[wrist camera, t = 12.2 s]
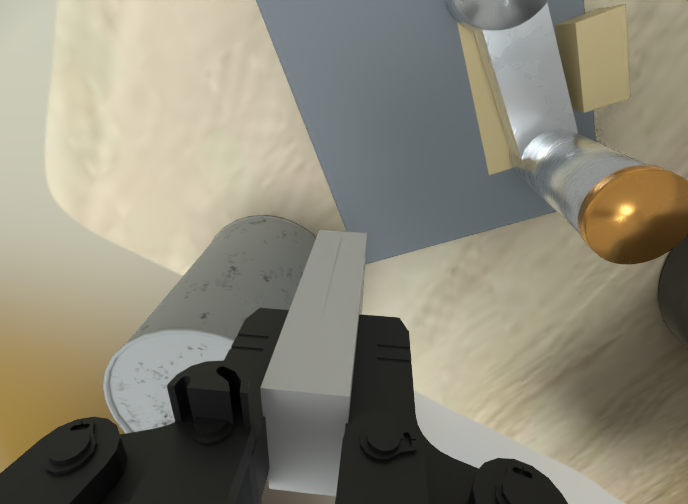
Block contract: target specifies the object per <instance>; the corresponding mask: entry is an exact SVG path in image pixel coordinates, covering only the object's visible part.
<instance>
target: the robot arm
mask: <svg viewBox="0 0 688 504" xmlns="http://www.w3.org/2000/svg"><path fill="white" fill-rule="evenodd" d="M366 238H367V233H360V232H345V231H330V230H319V232H318V234H317V237H316V240H315V242H314V245H313V248H312V250H311V253H310V256H309V258H308V261H307V264H306V267H305V269H304V272H303V275H302V277H301V280H300V283H299V285H298V288H297V291H296V293H295V296H294V299H293V301H292V304H291V307H290V310H283V309H270V308H259V309H257V310H256V311H255V312H254V313H252V314H251V315H250V316H249V317H247V318H246V319H245V321H244V323H243V325H242V327H241V328H240V330H239V332H238V336H237V337H236V338H235V340H234V342H233V344H232V346H231V349H229V351H228V353H227V355H226V357H225V359H224V361H206V362H202V363H199V364H196V365H193V366H190V367H188V368H187V369H185V370H183V371H182V372H180V373H178V374H177V375H176V376H175V377H174V378H173V379H172V380H171V381H170V382H169V383H168V385H167V390H168V394H169V398H170V402H171V407H172V411H173V415H174V419H175V422H174V423H171V424H169V425H166V426H162V427H158V428H154V429H149V430H143V431H137V432H132V433H126V434H121V435H120V434H119V431H118V428H117V425H115V424H114V423H112V422H111V421H110V420H109V419H105V418H98V417H90V418H83V419H77V420H74V421H72V422H70V423H67V424H65V425H63V426H60V427H58V428H56V429H55V430H54V431H52V432H51V433H49V434H48V435H46V436H45V437H43V438H42V439H41V440H39V441H38V442H37V443H36V444H35V445H33V446H32V447H31V448H30V449H29V450H28V451H26V452H25V453H24V454H23V455H22V456H20V457H19V458H18V459H17V460H16V461H15V462H13V463H12V464H11V465H10V466H9V467H8V468H6V469H5V470H4V471H3V472H1V473H0V504H262V499H261V497H262V494H263V490H264V487H265V483H266V480H267V476H268V480H269V488H270V489H278V490H287V491H295V492H305V493H313V494H322V495H330V496H336V501H335V504H568V503H567V501H566V500H565V498H564V497H563V495H562V494H561V492H560V491H559V490H558V489H557V488H556V487H555V485H554V484H553V483H552V482H551V480H550V479H549V478H548V477H546V476H545V475H544V474H542V473H541V472H539V471H538V470H536V469H535V468H534V467H533V466H530V465H528V464H525V463H523V462H520V461H518V460H515V459H503V458H497V459H494V460H491V461H488V462H485V463H484V464H483V465H482V466H481V467H480V468H479V469H478V468H476V467H473V466H471V465H468V464H466V463H464V462H461V461H459V460H456V459H454V458H452V457H450V456H448V455H446V454H444V453H442V452H440V451H439V450H438V449H436V448H435V447H434V446H433V445H432V444H430V443H429V441H428V440H427V439H426V438H425V437H424V435H423V434H422V432H421V430H420V428H419V426H418V424H417V419H416V415H415V402H414V390H413V377H412V365H411V353H410V340H409V331H408V330H407V328H406V327H405V325H404V324H403V322H402V321H401V320H400V318H396V317H384V316H372V315H361V313H362V301H363V285H364V269H365V254H366ZM658 300H659V308H660V312H661V315H662V317H663V320H664V322H665V323H666V325H667V327H668V328H669V329H670V331H671V332H672V333H673V334H674V335H675V336H676V337H677V338H678V339H679V340H680V341H681V342H682V343H683V344H684V345H685V346H686V347H687V348H688V234H687V235H686V237H685V238H684V239H683V240H682V241H681V242H680V243H679V244H678V245H677V246H675V247H674V248H673V250H672V252H671V253H670V255H669V257H668V259H667V261H666V264H665V266H664V269H663V272H662V275H661V278H660V283H659V290H658Z"/></svg>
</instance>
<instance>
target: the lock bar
mask: <svg viewBox="0 0 688 504" xmlns="http://www.w3.org/2000/svg"><path fill="white" fill-rule="evenodd" d="M548 1H549V0H445V3H446V5H447V8H448V10H449V12H450V14H451V15H452V16H453V18H454V19H455V20H456V21H457V22H458V23H459V24H461V25H462V26H463V27H465V28H467V29H470V30H473V32H474V36H475V39H476V42H477V45H478V48H479V52H480V55H481V58H482V61H483V65H484V68H485V71H486V74H487V77H488V81H489V84H490V87H491V90H492V93H493V97H494V100H495V103H496V106H497V109H498V113H499V116H500V119H501V122H502V125H503V129H504V132H505V135H506V138H507V141H508V145H509V148H510V154H509V159H510V164H511V166H512V168H513V170H514V171H515V172H516V173H517V174H518V175H519V176H520V177H521V178H522V179H523V180H524V181H525V182H526V183H527V184H528V185H529V186H530V187H531V188H533V189H534V190H535V191H536V192H537V193H538V194H539V195H540V196H541V197H542V198H543V199H544V200H545V201H546V202H547V203H548V204H549V205H550V206H552V207H553V208H554V209H555V210H556V211H557V212H558V213H559V214H560V215H561V216H562V217H563V218H564V219H565V220H566V221H567V222H568V223H570V224H571V225H572V226H573V227H574V228H575V229H576V230H577V231H578V232H579V233H580V235H581V237H582V239H583V240H584V241H585V243H586V244H587V245H588V246H589V247H591V248H592V249H593V250H594V251H595V252H596V253H597V254H598V255H599V256H600V257H602V258H604V259H605V260H608V261H610V262H613V263H618V264H638V263H643V262H647V261H650V260H653V259H655V258H657V257H660V256H662V255H664V254H665V253H667V252H669V251H670V250H671V249H673V248H674V247H675V246H677V245H678V244H679V243H680V242H681V241H682V240H683V239H684V238H685V237H686V235H687V234H688V181H687V180H686V179H684V178H683V177H681V176H679V175H676V174H674V173H672V172H670V171H667V170H665V169H663V168H660V167H657V166H651V165H646V164H644V163H641V162H639V161H637V160H635V159H632V158H630V157H628V156H626V155H624V154H621V153H619V152H617V151H615V150H613V149H610V148H608V147H606V146H604V145H601V144H599V143H597V142H595V141H593V140H590V139H588V138H586V137H584V136H582V135H579V134H578V131H577V126H576V122H575V118H574V114H573V109H572V105H571V101H570V97H569V92H568V88H567V84H566V80H565V75H564V71H563V67H562V63H561V58H560V54H559V50H558V46H557V41H556V37H555V33H554V29H553V24H552V20H551V16H550V12H549V7H548V3H547V2H548Z"/></svg>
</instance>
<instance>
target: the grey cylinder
mask: <svg viewBox="0 0 688 504" xmlns="http://www.w3.org/2000/svg"><path fill="white" fill-rule="evenodd" d="M315 240H316V238H315V237H314V236H313V235H312V234H311V233H310V232H309V231H307V230H306V229H304V228H303V227H301V226H299V225H298V224H296V223H293V222H291V221H288V220H286V219H283V218H278V217H272V216H250V217H247V218H243V219H239V220H236V221H235V222H233V223H231V224H229V225H227V226H226V227H224V228H223V229H222V230H221V231H220V232H219V233H218V234H217V235H216V236H215V238H214V239H213V241H212V243H211V244H210V245H209V247H208V248H207V249H206V250H205V251H204V252H203V254H202V255H201V256H200V257H199V258H198V260H197V261H196V262H195V263H194V264H193V265H192V267H191V268H190V269H189V270H188V271H187V272H186V274H185V275H184V276H183V277H182V278H181V280H180V281H179V282H178V283H177V284H176V286H175V287H174V288H173V289H172V290H171V291H170V293H169V294H168V295H167V296H166V297H165V298H164V300H163V301H162V302H161V303H160V304H159V305H158V307H157V308H156V309H155V310H154V312H153V313H152V314H151V315H150V316H149V317H148V318H147V320H146V321H145V322H144V323H143V324H142V326H141V327H140V328H139V329H138V330H137V331H136V333H135V334H134V335H133V336H132V337H131V338H130V340H129V341H128V342H127V343H126V344H124V346H122V347H121V348H120V349H119V350H118V351H117V352H116V353H115V354H114V355H113V357H112V359H111V360H110V362H109V364H108V366H107V368H106V370H105V377H104V385H103V388H104V393H105V399H106V403H107V405H108V407H109V409H110V411H111V413H112V415H113V417H114V419H115V420H116V422H117V423H118V424H119V425H120V427H121V428H122V429H123V431H124V432H125V433H132V432H137V431H143V430H149V429H154V428H158V427H162V426H166V425H169V424H171V423H174V422H175V419H174V415H173V411H172V407H171V402H170V398H169V394H168V390H167V385H168V383H169V382H170V381H171V380H172V379H173V378H174V377H175V376H176V375H177V374H178V373H180V372H182V371H183V370H185V369H187V368H188V367H190V366H193V365H196V364H199V363H202V362H206V361H224V359H225V357H226V355H227V353H228V351H229V349H231V346H232V344H233V342H234V340H235V338H236V337H237V336H238V332H239V330H240V328H241V327H242V325H243V323H244V321H245V319H246V318H247V317H249V316H250V315H251V314H252V313H254V312H255V311H256V310H257V309H259V308H270V309H283V310H290V307H291V304H292V301H293V299H294V296H295V293H296V291H297V288H298V285H299V283H300V280H301V277H302V275H303V272H304V269H305V267H306V264H307V261H308V258H309V256H310V253H311V250H312V248H313V245H314V242H315Z"/></svg>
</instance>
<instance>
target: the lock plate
mask: <svg viewBox="0 0 688 504" xmlns="http://www.w3.org/2000/svg"><path fill="white" fill-rule="evenodd" d="M256 2H257V4H258V7H259V9H260V12H261V14H262V17H263V20H264V22H265V25H266V27H267V30H268V32H269V35H270V37H271V40H272V42H273V45H274V48H275V50H276V53H277V55H278V58H279V60H280V63H281V65H282V68H283V70H284V73H285V75H286V78H287V81H288V83H289V86H290V88H291V91H292V93H293V96H294V98H295V101H296V103H297V106H298V109H299V111H300V114H301V116H302V119H303V121H304V124H305V126H306V129H307V131H308V134H309V136H310V139H311V142H312V144H313V147H314V149H315V152H316V154H317V157H318V159H319V162H320V164H321V167H322V170H323V172H324V175H325V177H326V180H327V182H328V185H329V187H330V190H331V192H332V195H333V198H334V200H335V203H336V205H337V208H338V210H339V213H340V215H341V218H342V220H343V223H344V225H345V228H346V231H347V232H360V233H367V238H366V254H365V264H368V263H372V262H375V261H379V260H383V259H386V258H390V257H394V256H397V255H401V254H404V253H408V252H412V251H415V250H419V249H422V248H426V247H430V246H433V245H437V244H440V243H444V242H448V241H451V240H455V239H458V238H462V237H466V236H469V235H473V234H477V233H480V232H484V231H487V230H491V229H495V228H498V227H502V226H505V225H509V224H513V223H516V222H520V221H523V220H527V219H531V218H534V217H538V216H541V215H545V214H549V213H552V212H556V210H555V209H554V208H553V207H552V206H550V205H549V204H548V203H547V202H546V201H545V200H544V199H543V198H542V197H541V196H540V195H539V194H538V193H537V192H536V191H535V190H534V189H533V188H531V187H530V186H529V185H528V184H527V183H526V182H525V181H524V180H523V179H522V178H521V177H520V176H519V175H518V174H517V173H516V172H515V171H514V170H513V168H512V166H511V164H510V159H509V154H510V148H509V145H508V141H507V138H506V135H505V132H504V129H503V125H502V122H501V119H500V116H499V113H498V109H497V106H496V103H495V100H494V97H493V93H492V90H491V87H490V84H489V81H488V77H487V74H486V71H485V68H484V65H483V61H482V58H481V55H480V52H479V48H478V45H477V42H476V39H475V36H474V32H473V30H470V29H467V28H465V27H463V26H462V25H461V24H459V23H458V22H457V21H456V20H455V19H454V18H453V16H452V15H451V14H450V12H449V10H448V8H447V5H446V3H445V0H256ZM547 3H548V7H549V12H550V16H551V20H552V24H553V29H554V33H555V37H556V41H557V46H558V50H559V54H560V58H561V63H562V67H563V71H564V75H565V80H566V84H567V88H568V92H569V97H570V101H571V105H572V109H573V114H574V118H575V122H576V126H577V131H578V134H579V135H582V136H584V137H586V138H588V139H590V140H593V141H595V142H596V138H595V126H594V114H593V110H595V109H598V108H601V107H604V106H607V105H610V104H613V103H616V102H619V101H622V100H625V99H628V98H630V91H629V70H628V49H627V27H626V6H625V4H624V5H618V6H612V7H606V8H600V9H596V10H594V11H591V12H589V13H586V14H585V9H584V0H549V1H548V2H547Z"/></svg>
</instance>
